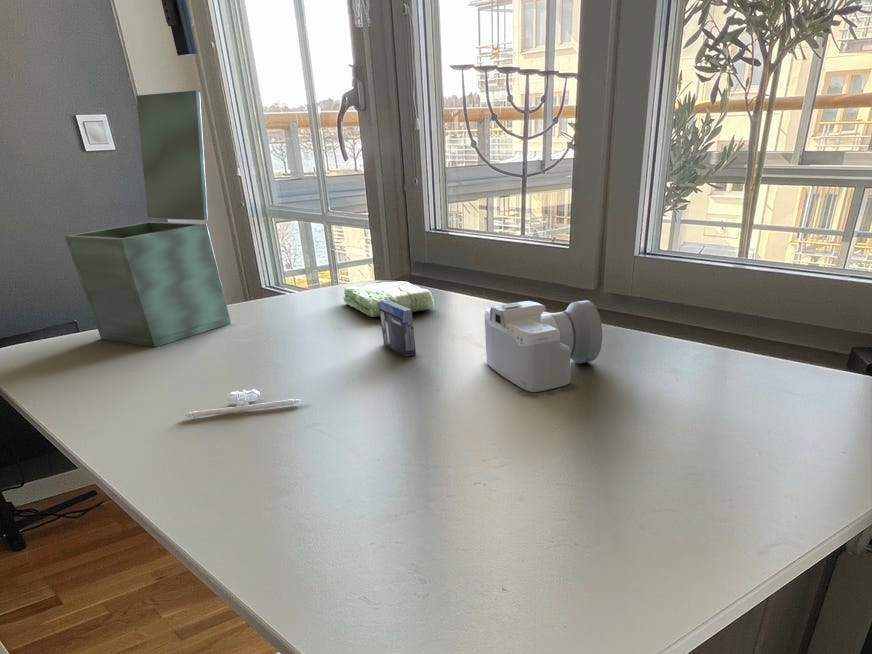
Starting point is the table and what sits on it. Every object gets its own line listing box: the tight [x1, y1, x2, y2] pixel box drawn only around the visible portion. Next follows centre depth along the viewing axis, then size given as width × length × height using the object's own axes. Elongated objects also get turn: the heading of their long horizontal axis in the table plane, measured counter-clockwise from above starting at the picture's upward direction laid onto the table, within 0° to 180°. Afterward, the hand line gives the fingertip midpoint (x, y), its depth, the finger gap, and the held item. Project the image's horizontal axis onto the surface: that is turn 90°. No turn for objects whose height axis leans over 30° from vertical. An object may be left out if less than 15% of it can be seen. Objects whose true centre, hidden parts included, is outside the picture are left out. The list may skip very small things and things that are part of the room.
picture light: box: [183, 388, 303, 419], centre depth 85 cm, size 14×4×2 cm, turn 104°
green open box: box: [64, 221, 232, 348], centre depth 114 cm, size 16×14×15 cm
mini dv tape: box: [379, 300, 417, 357], centre depth 101 cm, size 8×2×6 cm, turn 30°
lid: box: [135, 90, 209, 222], centre depth 111 cm, size 17×14×1 cm
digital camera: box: [483, 299, 603, 393], centre depth 89 cm, size 17×14×10 cm
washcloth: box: [343, 281, 435, 318], centre depth 125 cm, size 13×18×3 cm
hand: (187, 54), depth 108 cm, fingers closed
